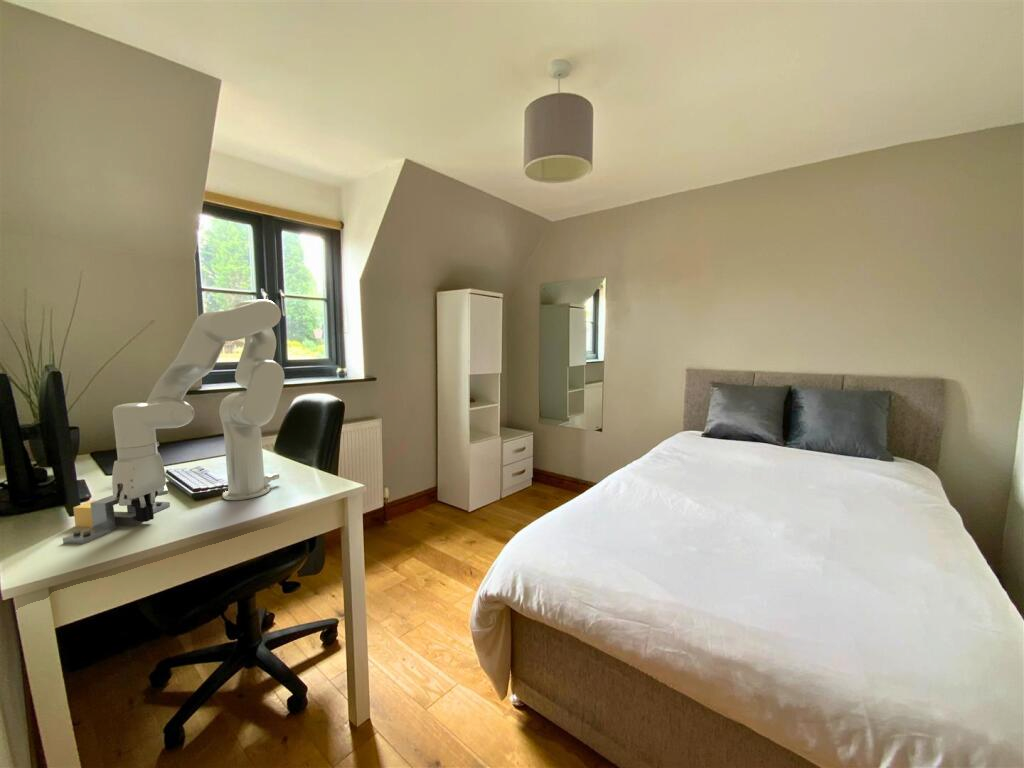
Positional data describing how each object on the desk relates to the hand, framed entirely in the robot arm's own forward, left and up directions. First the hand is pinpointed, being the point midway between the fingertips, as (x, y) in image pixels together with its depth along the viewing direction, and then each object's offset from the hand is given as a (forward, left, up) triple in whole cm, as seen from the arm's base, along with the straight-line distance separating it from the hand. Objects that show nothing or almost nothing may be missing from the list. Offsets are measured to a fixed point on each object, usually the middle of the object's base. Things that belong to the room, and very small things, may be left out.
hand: (145, 519), depth 105 cm
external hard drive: (-12, -27, -2) cm, 30 cm away
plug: (+4, -8, -1) cm, 9 cm away
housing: (+2, -6, -1) cm, 7 cm away
